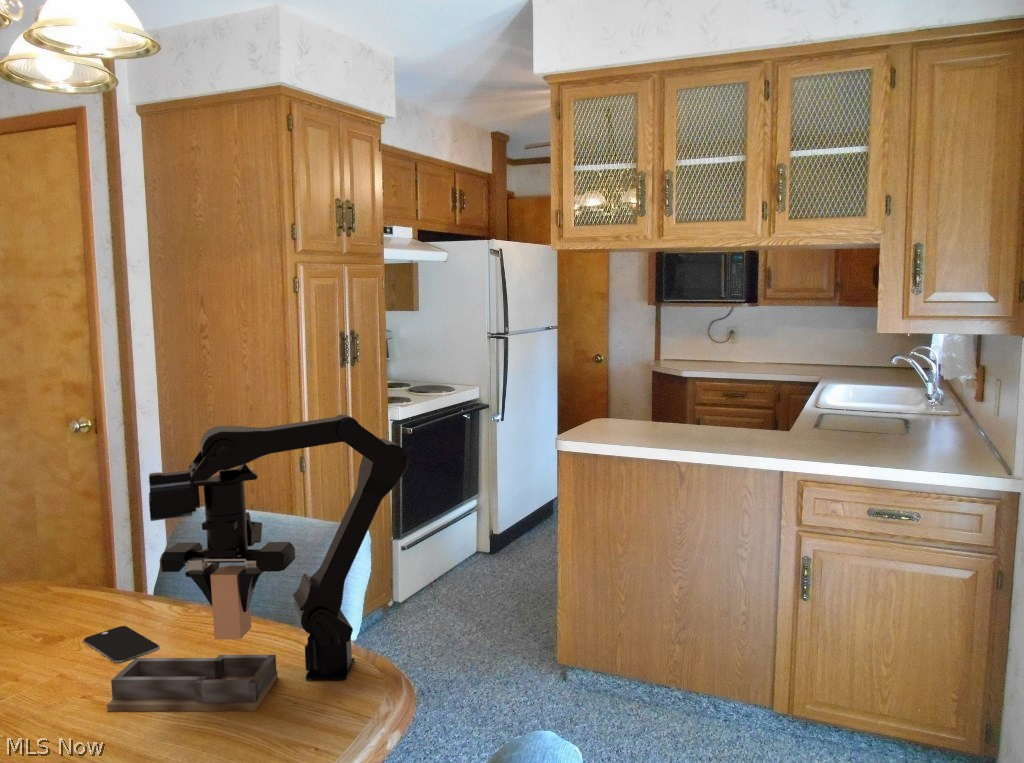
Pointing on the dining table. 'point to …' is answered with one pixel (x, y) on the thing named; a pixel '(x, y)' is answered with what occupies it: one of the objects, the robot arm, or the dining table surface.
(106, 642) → the smartphone
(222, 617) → the peg
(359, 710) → the dining table surface
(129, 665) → the keyhole board
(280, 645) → the dining table surface
